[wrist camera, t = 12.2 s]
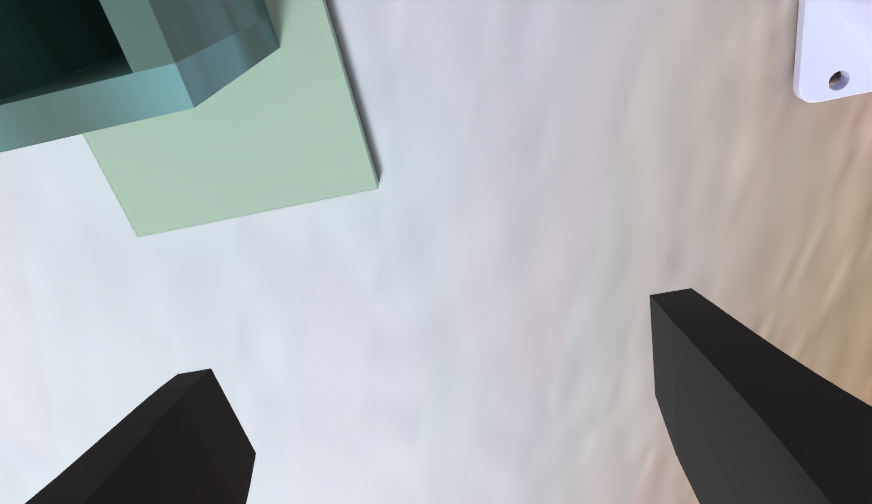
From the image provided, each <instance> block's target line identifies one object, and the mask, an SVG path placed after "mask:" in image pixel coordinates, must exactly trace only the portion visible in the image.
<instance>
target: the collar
mask: <svg viewBox="0 0 872 504" xmlns="http://www.w3.org/2000/svg"><path fill="white" fill-rule="evenodd" d="M279 48H280V45H279V42H278V39H277V36H276V33H275V31H274V28H273V25H272V22H271V19H270V16H269V13H268V10H267V7H266V4H265V1H264V0H0V152H4V151H9V150H13V149H17V148H22V147H26V146H31V145H35V144H39V143H44V142H48V141H52V140H57V139H61V138H65V137H70V136H74V135H79V134H83V133H87V132H92V131H96V130H100V129H105V128H109V127H114V126H118V125H122V124H127V123H131V122H135V121H140V120H144V119H148V118H153V117H157V116H162V115H166V114H170V113H175V112H179V111H183V110H188V109H192V108H195V107H196V106H198V105H199V104H201V103H202V102H204V101H205V100H206V99H208V98H209V97H211V96H212V95H214V94H215V93H216V92H218V91H219V90H221V89H222V88H223V87H225V86H226V85H228V84H229V83H231V82H232V81H233V80H235V79H236V78H238V77H239V76H241V75H242V74H243V73H245V72H246V71H248V70H249V69H251V68H252V67H253V66H255V65H256V64H258V63H259V62H260V61H262V60H263V59H265V58H266V57H268V56H269V55H270V54H272V53H273V52H275V51H276V50H278V49H279Z"/></svg>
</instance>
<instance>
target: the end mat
mask: <svg viewBox="0 0 872 504" xmlns="http://www.w3.org/2000/svg"><path fill="white" fill-rule="evenodd" d="M264 1H265V4H266V7H267V10H268V13H269V16H270V19H271V22H272V25H273V28H274V31H275V33H276V36H277V39H278V42H279V45H280V48H279V49H278V50H276V51H275V52H273V53H272V54H270V55H269V56H268V57H266V58H265V59H263V60H262V61H260V62H259V63H258V64H256V65H255V66H253V67H252V68H251V69H249V70H248V71H246V72H245V73H243V74H242V75H241V76H239V77H238V78H236V79H235V80H233V81H232V82H231V83H229V84H228V85H226V86H225V87H223V88H222V89H221V90H219V91H218V92H216V93H215V94H214V95H212V96H211V97H209V98H208V99H206V100H205V101H204V102H202V103H201V104H199V105H198V106H196V107H195V108H192V109H188V110H183V111H179V112H175V113H170V114H166V115H162V116H157V117H153V118H148V119H144V120H140V121H135V122H131V123H127V124H122V125H118V126H114V127H109V128H105V129H100V130H96V131H92V132H87V133H83V136H84V138H85V139H86V141H87V143H88V145H89V147H90V149H91V151H92V153H93V155H94V156H95V158H96V160H97V162H98V164H99V166H100V168H101V170H102V171H103V173H104V175H105V177H106V179H107V181H108V183H109V185H110V186H111V188H112V190H113V192H114V194H115V196H116V198H117V200H118V201H119V203H120V205H121V207H122V209H123V211H124V213H125V215H126V216H127V218H128V220H129V222H130V224H131V226H132V228H133V230H134V231H135V233H136V235H137V237H142V236H147V235H152V234H157V233H162V232H167V231H172V230H177V229H182V228H187V227H192V226H197V225H202V224H207V223H212V222H216V221H221V220H226V219H231V218H236V217H241V216H246V215H251V214H256V213H261V212H266V211H271V210H276V209H281V208H286V207H291V206H296V205H301V204H306V203H311V202H316V201H321V200H326V199H330V198H335V197H340V196H345V195H350V194H355V193H360V192H365V191H370V190H375V189H378V186H379V182H378V178H377V175H376V172H375V168H374V165H373V161H372V158H371V154H370V151H369V148H368V144H367V141H366V137H365V134H364V130H363V127H362V124H361V120H360V117H359V113H358V110H357V106H356V103H355V100H354V96H353V93H352V89H351V86H350V83H349V79H348V76H347V72H346V69H345V65H344V62H343V59H342V55H341V52H340V48H339V45H338V41H337V38H336V35H335V31H334V28H333V24H332V21H331V18H330V14H329V11H328V7H327V4H326V0H264Z"/></svg>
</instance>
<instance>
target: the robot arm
mask: <svg viewBox="0 0 872 504" xmlns="http://www.w3.org/2000/svg"><path fill="white" fill-rule="evenodd" d="M838 71H840V72H841V77H840V80H839V81H838V82H837V83H836V84H835V85H833V86H831V87H829V80H830V77H831V76H832V75H833V74H834V73H836V72H838ZM793 88H794V93H795V94H796V95H797V97H798V98H801V99H803V100H805V101H807V102H809V103H812V102H821V101H826V100H831V99H836V98H841V97H846V96H851V95H856V94H861V93H866V92H871V91H872V0H799V10H798V24H797V38H796V52H795V66H794V80H793ZM650 309H651V326H652V344H653V362H654V380H655V395H656V398H657V401H658V404H659V407H660V410H661V413H662V416H663V419H664V422H665V425H666V428H667V430H668V433H669V436H670V439H671V441H672V444H673V447H674V450H675V453H676V455H677V457H678V459H679V462H680V464H681V466H682V468H683V470H684V472H685V474H686V476H687V478H688V480H689V482H690V484H691V486H692V489H693V491H694V493H695V495H696V497H697V499H698V501H699V503H700V504H872V406H870V405H868V404H866V403H865V402H863V401H861V400H860V399H858V398H856V397H854V396H853V395H851V394H849V393H847V392H846V391H844V390H842V389H841V388H839V387H837V386H836V385H834V384H833V383H831V382H829V381H828V380H826V379H824V378H823V377H821V376H820V375H818V374H816V373H815V372H813V371H812V370H810V369H809V368H807V367H805V366H804V365H802V364H801V363H799V362H798V361H796V360H795V359H793V358H792V357H790V356H789V355H787V354H785V353H784V352H782V351H781V350H779V349H778V348H776V347H775V346H773V345H772V344H770V343H769V342H768V341H766V340H765V339H763V338H762V337H760V336H759V335H757V334H756V333H754V332H753V331H752V330H750V329H749V328H747V327H746V326H744V325H743V324H741V323H740V322H739V321H737V320H736V319H734V318H733V317H732V316H730V315H729V314H727V313H726V312H724V311H723V310H722V309H720V308H719V307H717V306H716V305H714V304H713V303H712V302H710V301H709V300H707V299H706V298H704V297H703V296H702V295H700V294H699V293H697V292H696V291H694V290H693V289H692V288H690V289H684V290H678V291H672V292H666V293H660V294H654V295H650ZM255 455H256V453H255V451H254V449H253V447H252V445H251V443H250V441H249V439H248V437H247V436H246V434H245V432H244V430H243V428H242V426H241V424H240V422H239V420H238V419H237V417H236V415H235V413H234V411H233V409H232V407H231V405H230V403H229V402H228V400H227V398H226V396H225V394H224V392H223V390H222V388H221V386H220V385H219V383H218V381H217V379H216V377H215V375H214V373H213V371H212V369H206V370H200V371H194V372H188V373H182V374H177V375H176V376H175V377H173V378H172V379H171V380H169V381H168V382H167V383H165V384H164V385H163V386H161V387H160V388H159V389H158V390H157V391H155V392H154V393H153V394H152V395H150V396H149V397H148V398H147V399H146V400H145V401H143V402H142V403H141V404H140V405H139V406H138V407H136V408H135V409H134V410H133V411H132V412H131V413H129V414H128V415H127V416H126V417H125V418H124V419H123V420H121V421H120V422H119V423H118V424H117V425H116V426H115V427H114V428H112V429H111V430H110V431H109V432H108V433H107V434H106V435H104V436H103V437H102V438H101V439H100V440H99V441H98V442H96V443H95V444H94V445H93V446H92V447H91V448H90V449H88V450H87V451H86V452H85V453H84V454H83V455H82V456H80V457H79V458H78V459H77V460H76V461H75V462H74V463H72V464H71V465H70V466H69V467H68V468H67V469H66V470H64V471H63V472H62V473H61V474H60V475H59V476H58V477H56V478H55V479H54V480H53V481H52V482H50V483H49V484H48V485H47V486H46V487H44V488H43V489H42V490H41V491H39V492H38V493H37V494H36V495H35V496H33V497H32V498H31V499H30V500H29V501H27V502H26V503H25V504H246V501H247V497H248V492H249V488H250V483H251V477H252V472H253V466H254V461H255Z"/></svg>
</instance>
